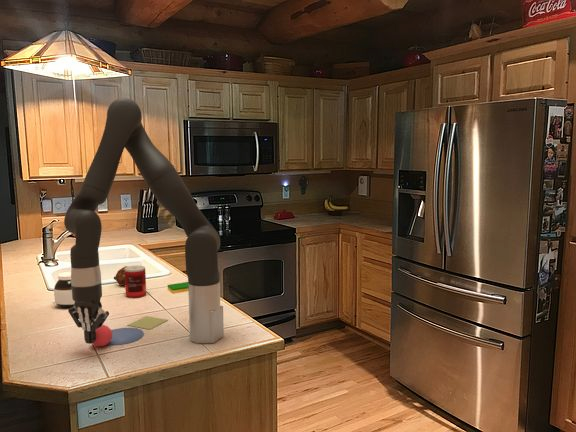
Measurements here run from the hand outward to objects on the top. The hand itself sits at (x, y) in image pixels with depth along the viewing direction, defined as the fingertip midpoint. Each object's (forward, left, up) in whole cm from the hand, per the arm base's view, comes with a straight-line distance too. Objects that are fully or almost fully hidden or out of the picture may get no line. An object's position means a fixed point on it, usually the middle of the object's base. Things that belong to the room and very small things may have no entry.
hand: (90, 342), depth 129 cm
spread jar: (+40, -28, -3) cm, 50 cm away
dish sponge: (+11, -61, -4) cm, 63 cm away
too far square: (0, -24, -3) cm, 24 cm away
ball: (+1, -5, 0) cm, 5 cm away
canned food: (+24, -46, -3) cm, 52 cm away
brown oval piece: (+38, -56, -3) cm, 68 cm away
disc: (0, -12, -3) cm, 13 cm away
